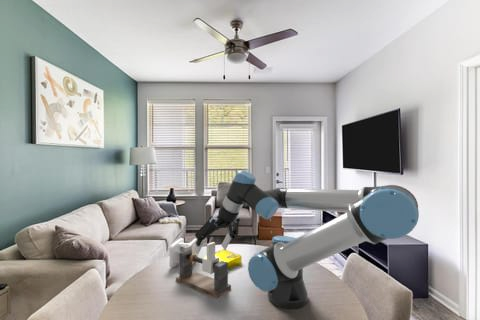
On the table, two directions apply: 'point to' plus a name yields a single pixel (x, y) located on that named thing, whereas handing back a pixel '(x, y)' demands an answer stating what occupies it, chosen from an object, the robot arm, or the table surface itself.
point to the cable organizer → (176, 250)
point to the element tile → (229, 258)
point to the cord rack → (200, 281)
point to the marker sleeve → (210, 259)
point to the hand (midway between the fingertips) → (210, 249)
